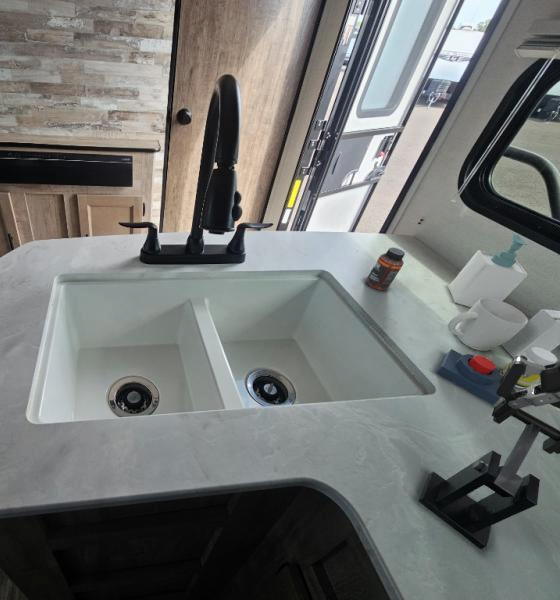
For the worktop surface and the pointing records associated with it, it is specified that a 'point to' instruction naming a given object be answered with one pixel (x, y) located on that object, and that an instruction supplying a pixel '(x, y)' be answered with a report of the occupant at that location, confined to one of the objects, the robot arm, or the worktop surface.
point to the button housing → (470, 376)
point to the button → (482, 364)
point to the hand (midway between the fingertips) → (520, 433)
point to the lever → (520, 454)
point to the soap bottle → (489, 275)
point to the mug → (488, 324)
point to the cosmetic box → (536, 334)
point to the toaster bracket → (468, 513)
